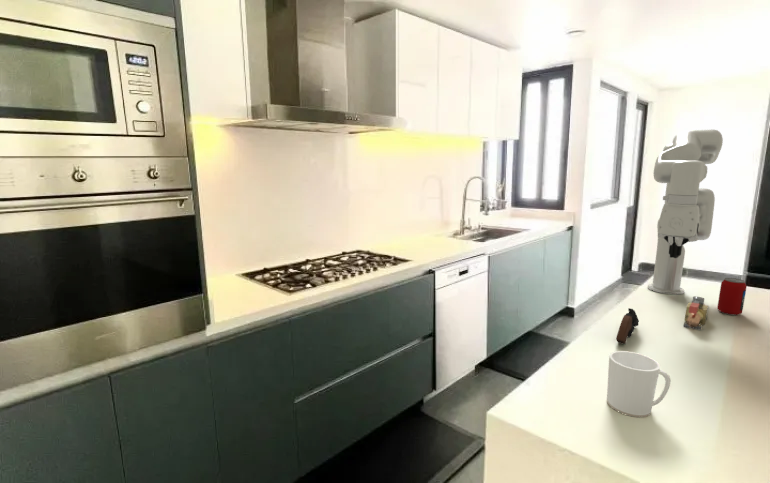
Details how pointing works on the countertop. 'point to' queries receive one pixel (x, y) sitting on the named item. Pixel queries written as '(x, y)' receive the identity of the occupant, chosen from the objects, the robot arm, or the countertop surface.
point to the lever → (696, 304)
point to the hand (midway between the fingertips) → (674, 257)
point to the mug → (634, 383)
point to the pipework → (695, 317)
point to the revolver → (627, 326)
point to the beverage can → (732, 296)
